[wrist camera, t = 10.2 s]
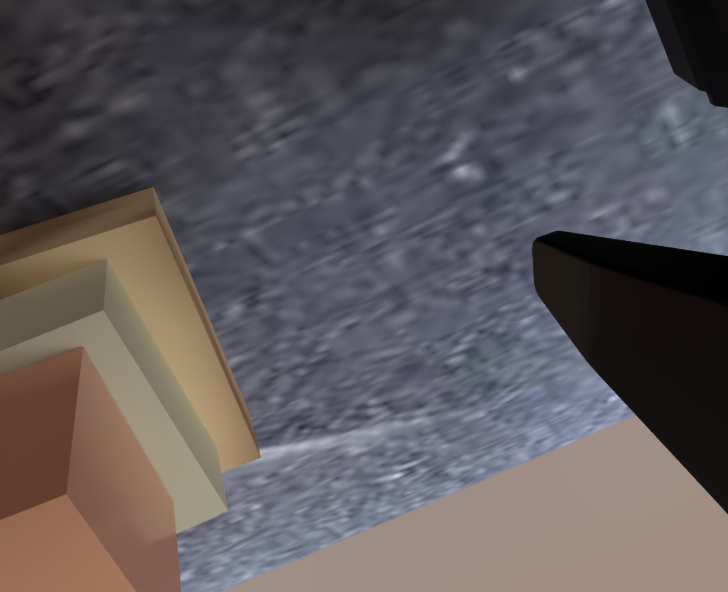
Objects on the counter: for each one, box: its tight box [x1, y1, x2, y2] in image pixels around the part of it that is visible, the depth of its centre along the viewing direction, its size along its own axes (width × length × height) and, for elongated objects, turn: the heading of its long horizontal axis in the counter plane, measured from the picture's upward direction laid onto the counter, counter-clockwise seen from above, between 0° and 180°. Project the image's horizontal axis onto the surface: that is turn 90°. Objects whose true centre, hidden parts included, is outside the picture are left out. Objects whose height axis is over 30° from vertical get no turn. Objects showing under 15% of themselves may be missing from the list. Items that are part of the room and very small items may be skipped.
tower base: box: [0, 187, 261, 473], centre depth 20 cm, size 10×10×3 cm
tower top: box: [0, 259, 228, 534], centre depth 18 cm, size 8×8×3 cm
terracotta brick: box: [0, 347, 181, 592], centre depth 14 cm, size 4×6×5 cm
